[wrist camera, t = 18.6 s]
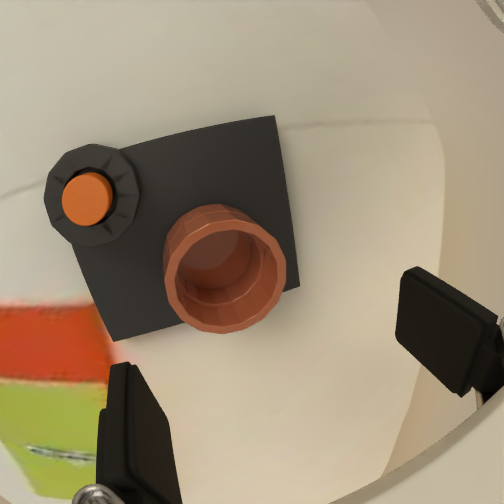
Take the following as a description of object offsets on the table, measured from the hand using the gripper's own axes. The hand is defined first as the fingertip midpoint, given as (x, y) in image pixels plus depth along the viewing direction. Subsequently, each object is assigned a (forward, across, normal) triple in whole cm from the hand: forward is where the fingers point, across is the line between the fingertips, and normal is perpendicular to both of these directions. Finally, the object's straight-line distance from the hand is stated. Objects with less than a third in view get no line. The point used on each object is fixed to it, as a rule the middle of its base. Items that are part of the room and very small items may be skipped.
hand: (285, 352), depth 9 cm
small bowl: (+11, +1, 0) cm, 11 cm away
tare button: (+10, +7, -5) cm, 13 cm away
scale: (+12, +2, -1) cm, 13 cm away
